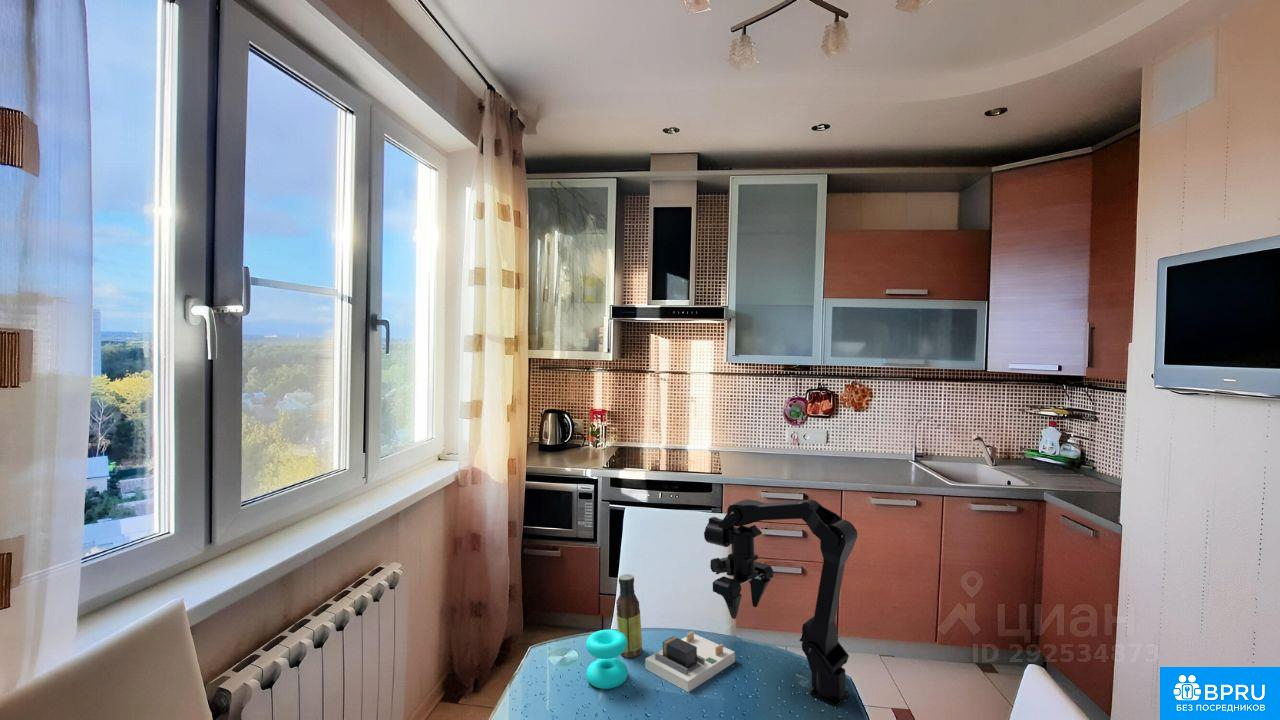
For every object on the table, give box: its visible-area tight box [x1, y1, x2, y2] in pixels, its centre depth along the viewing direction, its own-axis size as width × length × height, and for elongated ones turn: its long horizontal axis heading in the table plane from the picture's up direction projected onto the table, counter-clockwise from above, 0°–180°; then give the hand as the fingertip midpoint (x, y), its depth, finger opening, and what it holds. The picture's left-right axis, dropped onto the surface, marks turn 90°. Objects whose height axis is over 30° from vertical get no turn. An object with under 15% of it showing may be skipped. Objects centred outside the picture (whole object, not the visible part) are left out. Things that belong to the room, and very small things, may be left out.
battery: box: [662, 635, 697, 669], centre depth 132 cm, size 8×4×4 cm, turn 44°
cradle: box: [644, 630, 736, 693], centre depth 134 cm, size 14×18×4 cm
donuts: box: [585, 629, 629, 690], centre depth 129 cm, size 10×10×10 cm
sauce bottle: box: [616, 573, 643, 658], centre depth 141 cm, size 7×6×20 cm
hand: (744, 612), depth 136 cm, fingers open, 9 cm apart
